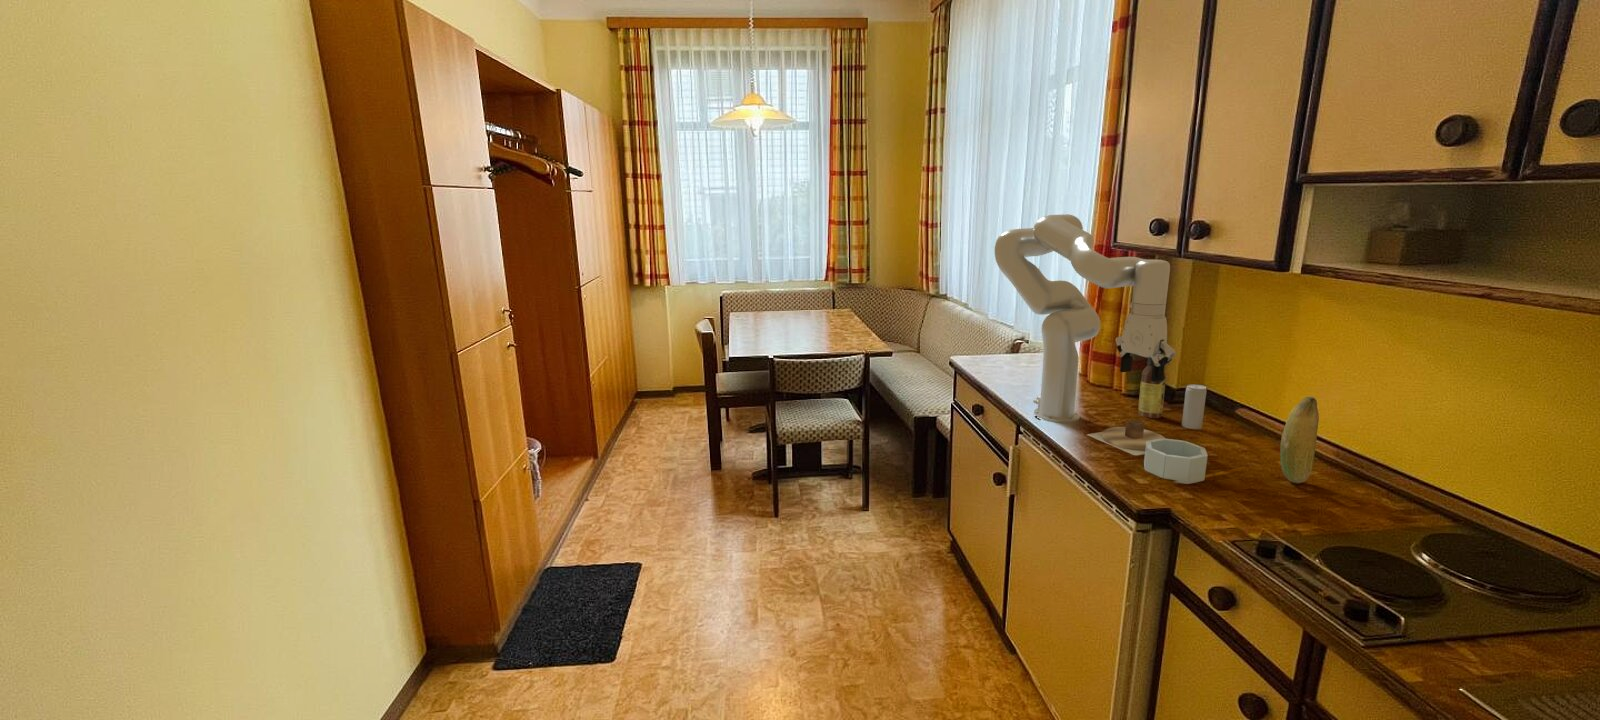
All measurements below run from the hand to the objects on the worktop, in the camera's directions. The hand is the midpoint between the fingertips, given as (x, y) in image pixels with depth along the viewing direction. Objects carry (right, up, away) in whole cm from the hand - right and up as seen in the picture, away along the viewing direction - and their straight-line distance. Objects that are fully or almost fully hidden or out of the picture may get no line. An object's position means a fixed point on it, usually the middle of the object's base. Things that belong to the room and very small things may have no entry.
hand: (1140, 376), depth 165 cm
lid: (0, -17, +4) cm, 17 cm away
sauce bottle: (+15, -13, +24) cm, 31 cm away
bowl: (0, -22, -14) cm, 26 cm away
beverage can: (+21, -15, +14) cm, 29 cm away
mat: (0, -17, +4) cm, 18 cm away
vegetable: (+23, -23, -21) cm, 39 cm away
